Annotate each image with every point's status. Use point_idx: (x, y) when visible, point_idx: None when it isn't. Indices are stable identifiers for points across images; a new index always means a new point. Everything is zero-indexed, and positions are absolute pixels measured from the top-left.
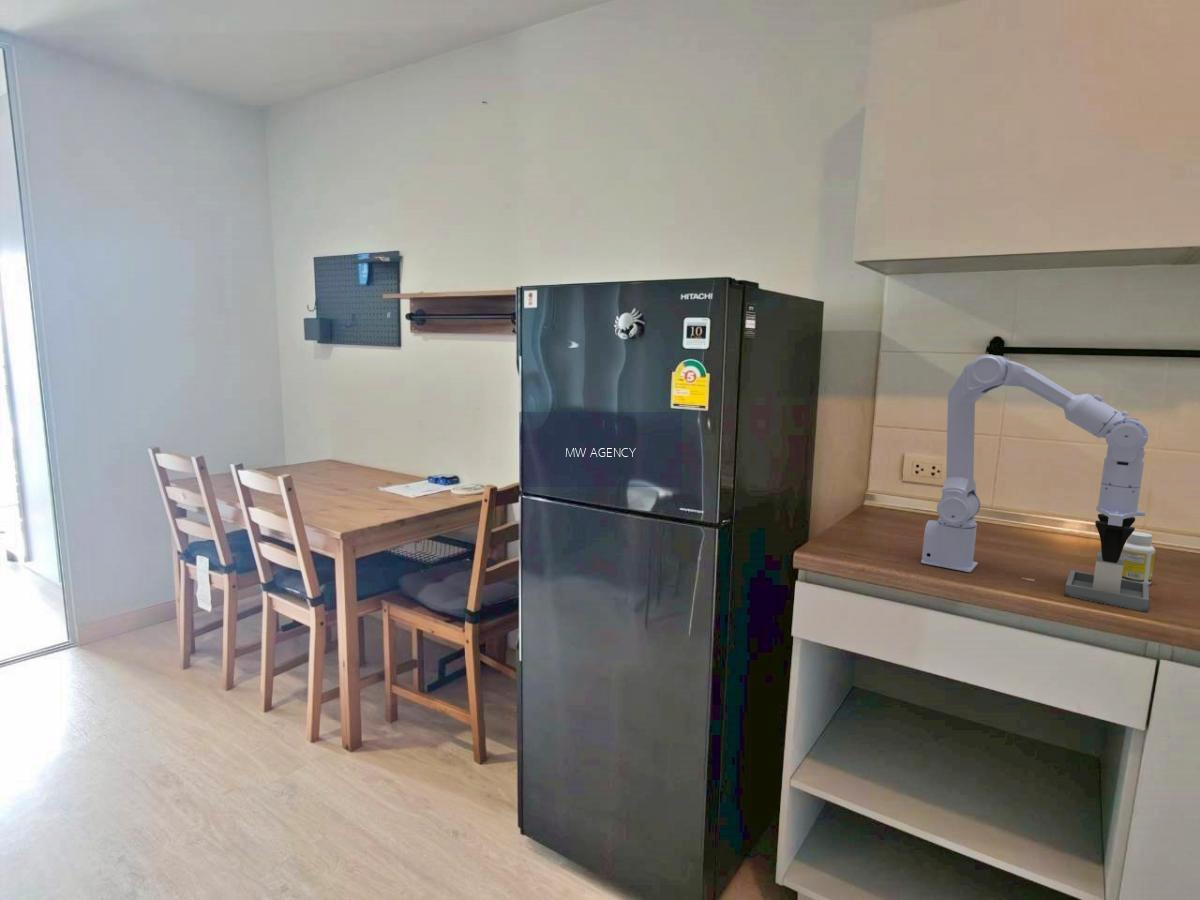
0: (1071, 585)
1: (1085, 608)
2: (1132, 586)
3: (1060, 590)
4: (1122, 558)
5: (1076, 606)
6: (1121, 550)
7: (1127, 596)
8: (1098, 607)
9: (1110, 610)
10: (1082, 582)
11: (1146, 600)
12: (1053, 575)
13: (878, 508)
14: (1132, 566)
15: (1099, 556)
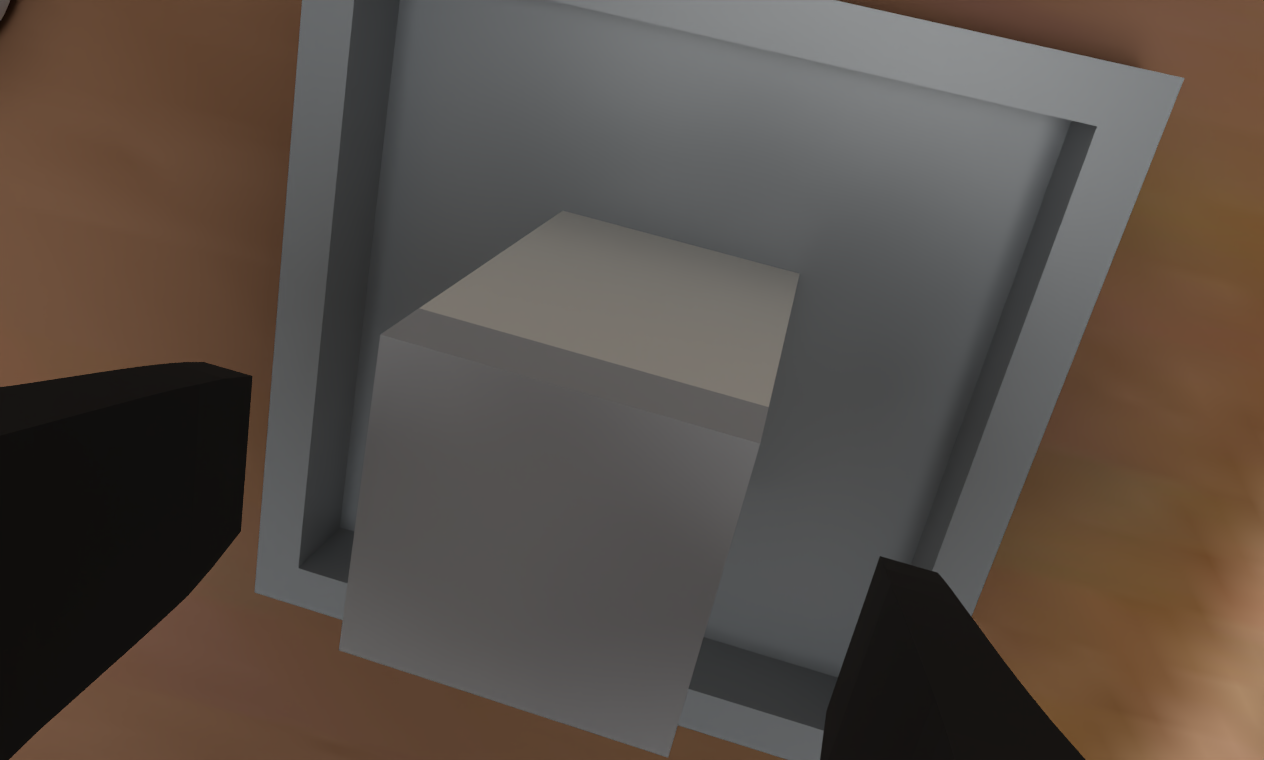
0: None
1: (1255, 643)
2: (373, 57)
3: None
4: (618, 426)
5: (1217, 701)
6: (1042, 712)
7: (1096, 296)
8: (1159, 518)
9: (1225, 433)
10: None
11: (1170, 104)
12: (214, 618)
13: None
14: None
15: (675, 726)
